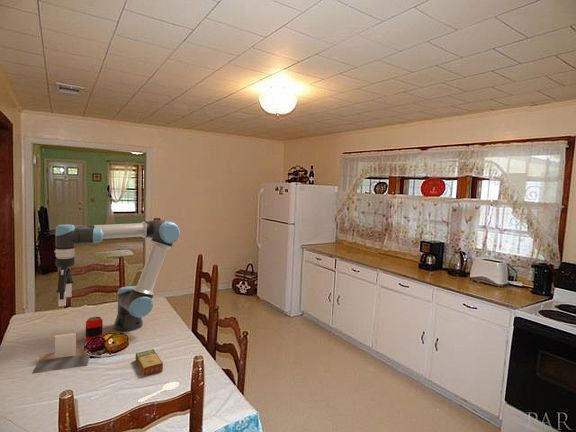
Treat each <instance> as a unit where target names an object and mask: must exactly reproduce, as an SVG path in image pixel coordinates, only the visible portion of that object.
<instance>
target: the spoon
mask: <svg viewBox="0 0 576 432" xmlns="http://www.w3.org/2000/svg"><path fill="white" fill-rule="evenodd" d="M180 384H181V383H180V382H179V381H171V382H168V383H165V384H164V385H162V389H159V390H157V391H155V392H152V393H151V394H149V395H146V396H144V397H141V398H139V399H138V400H137V404H141V403H144V402H146V401H148V400H149V399H152V398H154V397H155V396H157V395H159V394H161V393H162V392H170V391H174V390H175V389H177V388H178V387H179V386H180Z"/></svg>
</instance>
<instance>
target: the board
mask: <svg viewBox="0 0 576 432" xmlns="http://www.w3.org/2000/svg"><path fill="white" fill-rule="evenodd" d="M84 349H85V348H82V349H76V355H75V356H68V357H60V358H55V352H51V353H50V352H49V353H42V354H41V356H40V357H39V360H38V361H37V364H36V365H35V366H34V368H33V371H32V372H31V374H32V375H33V374H39V373H46V372H51V371H52V372H53V371H60V370H66V369H68V370H69V369H74V368H81V367H82V368H83V367H87V366H88V364H89V360H90V357H91V355H90V356H89V355H87V354H86V353H85V351H84Z"/></svg>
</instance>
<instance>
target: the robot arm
mask: <svg viewBox="0 0 576 432" xmlns="http://www.w3.org/2000/svg"><path fill="white" fill-rule="evenodd" d="M180 234H181V230H180V228H179V226H178V225H177V224H176V223H175V222H173V221H170V220H163V219H155V220H147V221H141V222H137V223H119V224H117V223H116V224H89V225H88V224H87V225H85V224H77V225H74V224H66V223H65V224H58V225H56V227H55V234H54V235H55V250H54V252H53V253H55V257H56V258H55V266H56V267H58V268H59V267H60V270H58V283H57V289H56V291H55V292H56V294H57V293H58V299H57V301H58V302H57V303H58V307H66V305H67V304H66V303H67V302H66V301H67V298H71V297H72V284H74V281H73V273H72V266H73V267H74V265H75V256H76V250H75V249H76V248H75V247H76V246H75V245H82V244H83V245H84V244H85V245H87V244H96V243H98V244H99V243H101V242H102V241H103V239H115V238H116V239H119V238H132V237H133V238H135V237H141V238H143V239H145V238H146V239H147V238H148V239H151V244H152V245H151V248H150V251H149V253H148V256H147V258H146V261H145V263H144V266H143V269H142V271H141V274H140V277H139V279H138V282H137V283H136V285H128V286H123V287H120V288H118V290H117V314H116V316H115V320H114V323H113V329H114V330H116V331H120V332H129V331H134V330H138V329H140V328H142V327H143V322H144V321H143V317H146V316H147V315H149V314H150V313H151V311H152V310H153V308H154V302H153V297H154V295H155V293H154V291H153V290H154V287H155V284H156V281H157V278H158V277H159V274H160V271H161V268H162V266H163V264H164V260H165V258H166V255H167V252H168V250H169V249H172V248H173V245H174V243H176V242H177V241H178V240H179V238H180Z"/></svg>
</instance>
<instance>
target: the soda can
mask: <svg viewBox="0 0 576 432" xmlns="http://www.w3.org/2000/svg"><path fill="white" fill-rule="evenodd" d="M103 325H104V323H103V318H102V317H101V316H91V317H89V318H87V320H86V321H85V342H86V343H90V342H89V341H90V340H91V339H92V338H94V337H97V336H102V337H103V327H104V326H103Z"/></svg>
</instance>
